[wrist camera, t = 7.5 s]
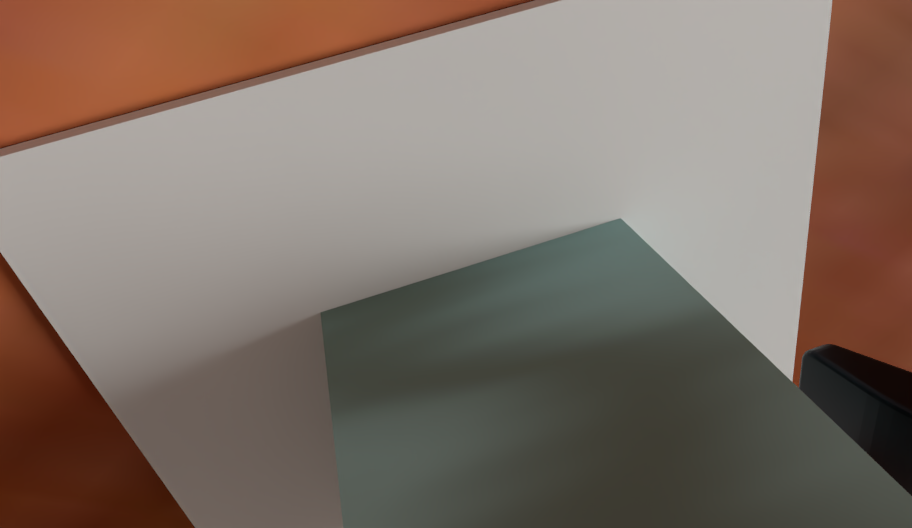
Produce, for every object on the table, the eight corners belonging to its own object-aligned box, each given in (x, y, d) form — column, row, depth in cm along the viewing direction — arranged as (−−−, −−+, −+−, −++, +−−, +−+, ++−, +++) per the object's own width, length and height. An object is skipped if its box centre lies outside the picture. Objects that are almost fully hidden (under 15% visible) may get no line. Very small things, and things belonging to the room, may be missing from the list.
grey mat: (288, 643, 14) (289, 661, 14) (-42, 160, 8) (-57, 172, 8) (770, 468, 16) (781, 480, 15) (819, -80, 9) (840, -78, 9)
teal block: (401, 511, 13) (484, 925, 8) (320, 312, 10) (367, 750, 5) (637, 428, 13) (863, 768, 8) (620, 218, 10) (947, 529, 5)
